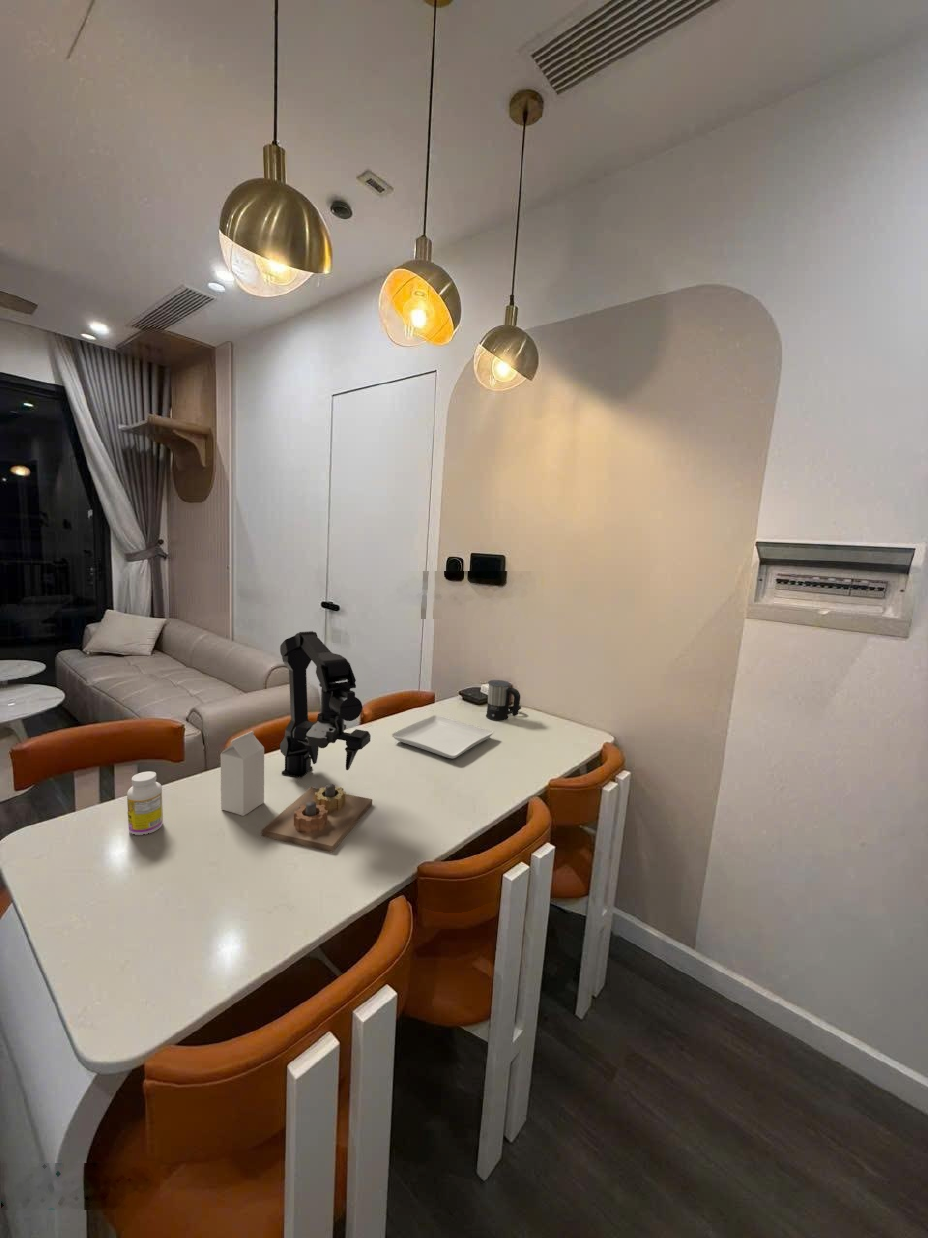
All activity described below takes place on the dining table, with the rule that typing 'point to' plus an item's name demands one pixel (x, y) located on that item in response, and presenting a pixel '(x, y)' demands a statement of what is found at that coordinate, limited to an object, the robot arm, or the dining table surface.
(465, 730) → the square plate
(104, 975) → the dining table surface
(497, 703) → the milk frother
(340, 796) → the wooden gear
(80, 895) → the dining table surface
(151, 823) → the supplement bottle
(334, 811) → the gear board
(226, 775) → the milk carton
